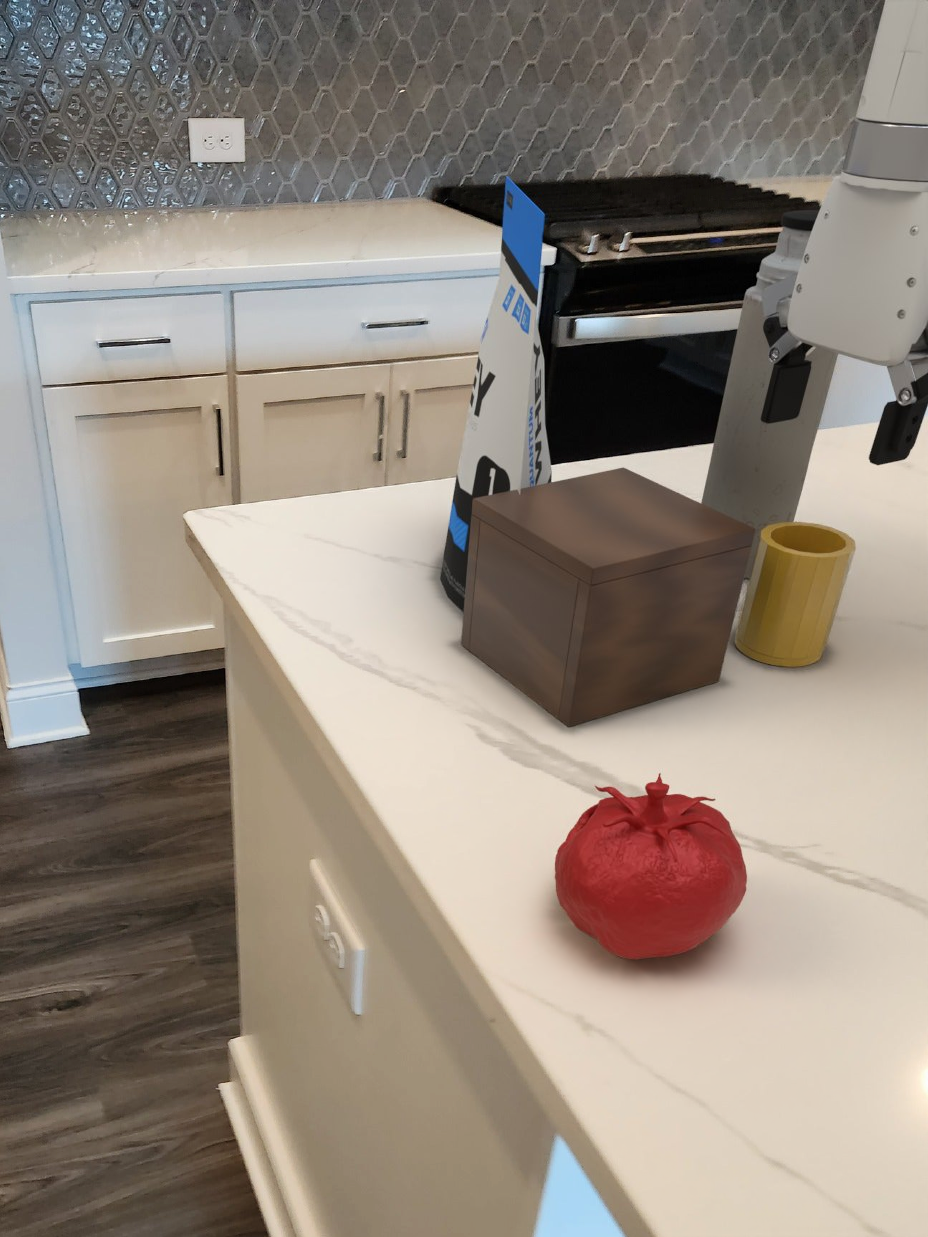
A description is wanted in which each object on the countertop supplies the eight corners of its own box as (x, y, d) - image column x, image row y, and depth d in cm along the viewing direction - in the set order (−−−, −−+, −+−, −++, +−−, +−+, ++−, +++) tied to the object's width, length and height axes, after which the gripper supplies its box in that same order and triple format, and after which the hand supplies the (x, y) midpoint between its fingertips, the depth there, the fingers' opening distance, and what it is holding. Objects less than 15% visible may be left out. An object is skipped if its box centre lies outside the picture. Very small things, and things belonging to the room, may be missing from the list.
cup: (777, 621, 91) (806, 515, 85) (841, 655, 86) (875, 545, 81) (716, 638, 88) (742, 531, 83) (778, 674, 84) (809, 563, 78)
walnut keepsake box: (600, 608, 93) (623, 466, 86) (719, 681, 83) (756, 528, 76) (460, 644, 88) (472, 498, 81) (568, 727, 78) (593, 568, 71)
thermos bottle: (747, 538, 104) (829, 201, 87) (800, 572, 98) (898, 217, 81) (673, 548, 102) (741, 207, 86) (722, 583, 96) (806, 223, 79)
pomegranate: (767, 954, 60) (813, 816, 54) (606, 1000, 57) (637, 860, 51) (661, 847, 67) (692, 716, 61) (515, 884, 64) (533, 751, 59)
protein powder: (530, 530, 107) (564, 174, 90) (567, 640, 88) (619, 212, 70) (433, 530, 108) (448, 177, 90) (447, 641, 88) (469, 216, 71)
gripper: (1086, 169, 62) (974, 470, 73) (843, 139, 74) (777, 400, 85) (998, 177, 59) (895, 488, 70) (760, 144, 72) (703, 413, 82)
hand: (830, 439), depth 77 cm, fingers open, 9 cm apart
